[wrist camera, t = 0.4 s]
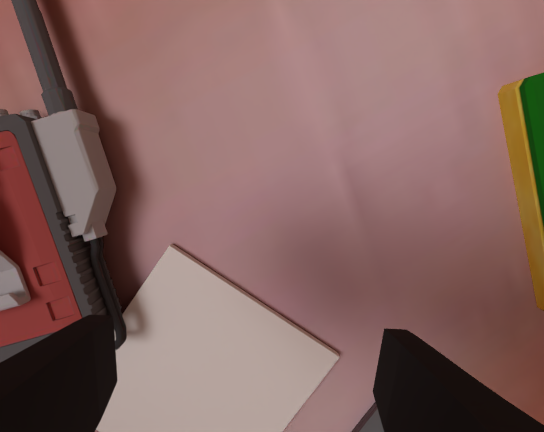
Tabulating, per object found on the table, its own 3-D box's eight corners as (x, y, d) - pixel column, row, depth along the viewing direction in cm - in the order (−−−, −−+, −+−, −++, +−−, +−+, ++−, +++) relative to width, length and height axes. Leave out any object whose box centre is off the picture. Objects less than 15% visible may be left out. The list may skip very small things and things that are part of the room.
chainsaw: (170, 325, 19) (48, -39, 17) (138, 370, 14) (-34, -118, 12) (27, 363, 19) (-111, 12, 17) (-47, 419, 15) (-247, -46, 12)
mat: (227, 495, 21) (226, 503, 21) (63, 402, 20) (58, 408, 19) (337, 352, 20) (339, 357, 20) (171, 243, 19) (169, 245, 18)
